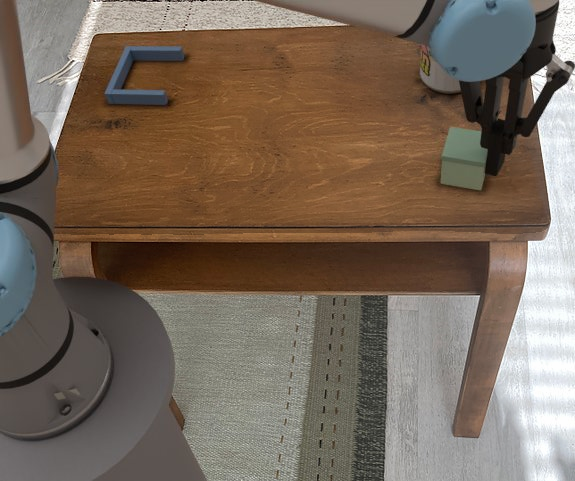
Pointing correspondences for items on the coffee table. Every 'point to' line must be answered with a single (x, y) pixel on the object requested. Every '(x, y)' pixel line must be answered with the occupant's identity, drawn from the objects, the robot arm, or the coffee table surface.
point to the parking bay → (122, 69)
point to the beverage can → (436, 74)
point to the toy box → (463, 159)
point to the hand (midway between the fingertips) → (494, 167)
